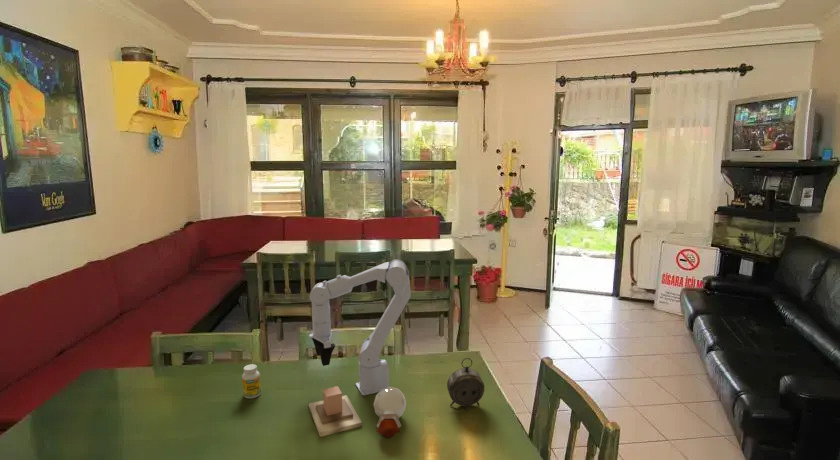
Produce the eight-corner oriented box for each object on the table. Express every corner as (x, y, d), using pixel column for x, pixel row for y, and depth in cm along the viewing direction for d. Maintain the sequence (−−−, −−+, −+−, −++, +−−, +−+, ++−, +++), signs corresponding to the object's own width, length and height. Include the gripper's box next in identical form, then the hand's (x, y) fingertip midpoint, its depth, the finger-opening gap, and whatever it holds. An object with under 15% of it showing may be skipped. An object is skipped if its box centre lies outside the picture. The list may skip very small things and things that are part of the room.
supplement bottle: (258, 388, 154) (256, 361, 152) (263, 395, 149) (261, 368, 147) (241, 393, 151) (239, 365, 149) (245, 400, 146) (243, 372, 145)
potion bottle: (394, 411, 143) (393, 447, 129) (368, 396, 141) (364, 431, 127) (412, 390, 141) (412, 425, 127) (386, 374, 139) (383, 408, 125)
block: (338, 404, 140) (337, 386, 139) (342, 412, 136) (341, 393, 135) (323, 407, 139) (322, 389, 137) (327, 415, 135) (326, 396, 133)
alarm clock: (481, 401, 146) (482, 353, 143) (485, 411, 141) (486, 361, 138) (446, 403, 145) (447, 355, 142) (449, 413, 140) (450, 363, 137)
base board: (346, 398, 148) (346, 392, 147) (361, 426, 133) (361, 419, 133) (308, 407, 143) (308, 400, 142) (320, 436, 128) (319, 429, 128)
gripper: (304, 314, 154) (306, 353, 156) (313, 330, 141) (315, 372, 144) (325, 311, 157) (327, 349, 159) (336, 326, 144) (338, 367, 146)
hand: (323, 359), depth 152 cm, fingers open, 7 cm apart
